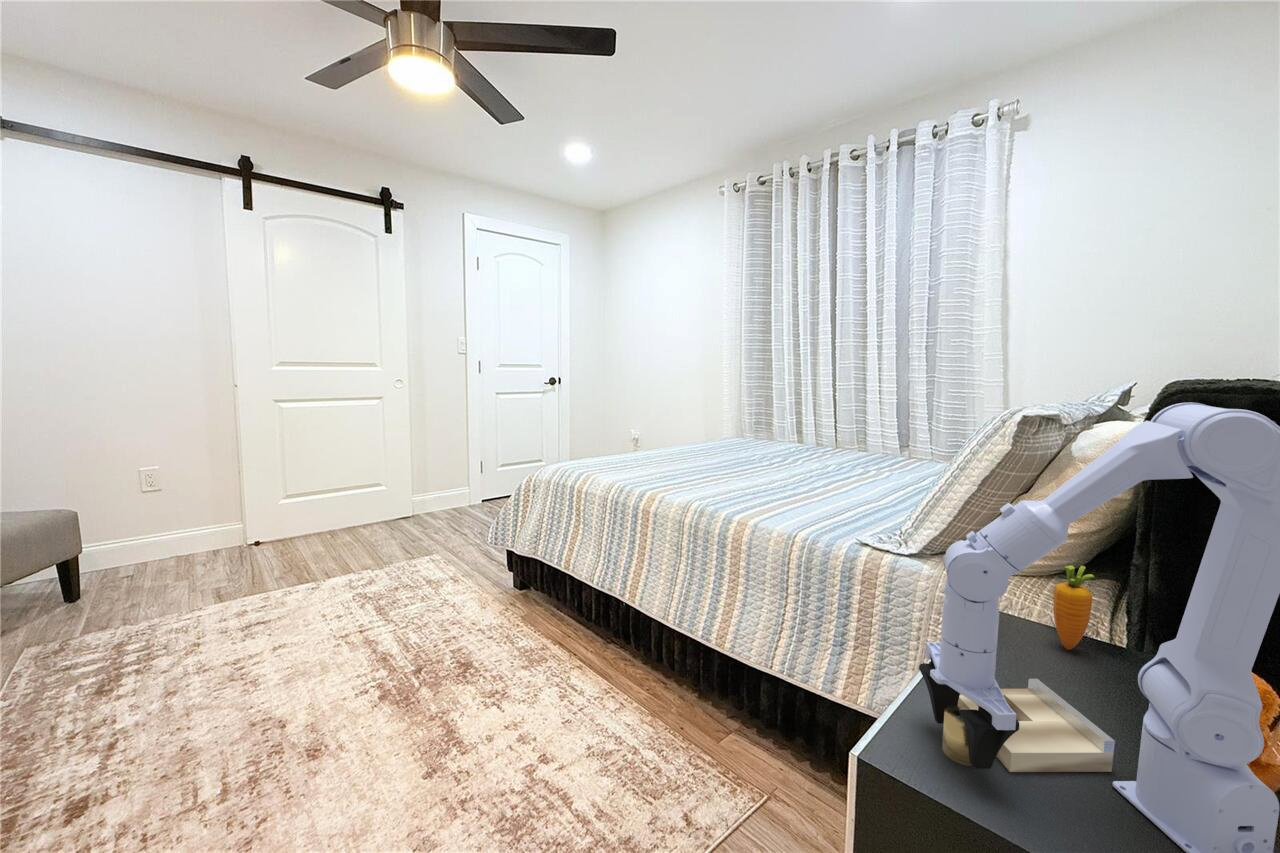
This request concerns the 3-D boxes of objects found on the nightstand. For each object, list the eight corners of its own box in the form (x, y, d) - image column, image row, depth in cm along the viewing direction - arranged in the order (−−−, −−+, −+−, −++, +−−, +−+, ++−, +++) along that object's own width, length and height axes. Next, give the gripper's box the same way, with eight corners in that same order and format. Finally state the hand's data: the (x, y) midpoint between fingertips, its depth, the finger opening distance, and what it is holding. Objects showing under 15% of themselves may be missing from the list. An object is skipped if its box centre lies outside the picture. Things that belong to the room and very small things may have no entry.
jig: (1111, 771, 61) (1115, 740, 60) (1009, 772, 61) (1012, 741, 60) (1035, 704, 73) (1037, 678, 72) (950, 705, 73) (951, 679, 72)
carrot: (1072, 642, 88) (1080, 559, 87) (1095, 658, 84) (1103, 571, 82) (1042, 641, 89) (1049, 558, 87) (1062, 657, 84) (1070, 570, 82)
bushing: (987, 765, 62) (990, 727, 61) (954, 765, 62) (956, 727, 61) (966, 741, 66) (969, 705, 65) (935, 741, 66) (937, 705, 65)
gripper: (905, 611, 69) (900, 704, 71) (973, 676, 55) (965, 791, 56) (957, 611, 69) (951, 704, 71) (1039, 676, 55) (1029, 790, 56)
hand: (961, 742), depth 64 cm, fingers open, 7 cm apart
